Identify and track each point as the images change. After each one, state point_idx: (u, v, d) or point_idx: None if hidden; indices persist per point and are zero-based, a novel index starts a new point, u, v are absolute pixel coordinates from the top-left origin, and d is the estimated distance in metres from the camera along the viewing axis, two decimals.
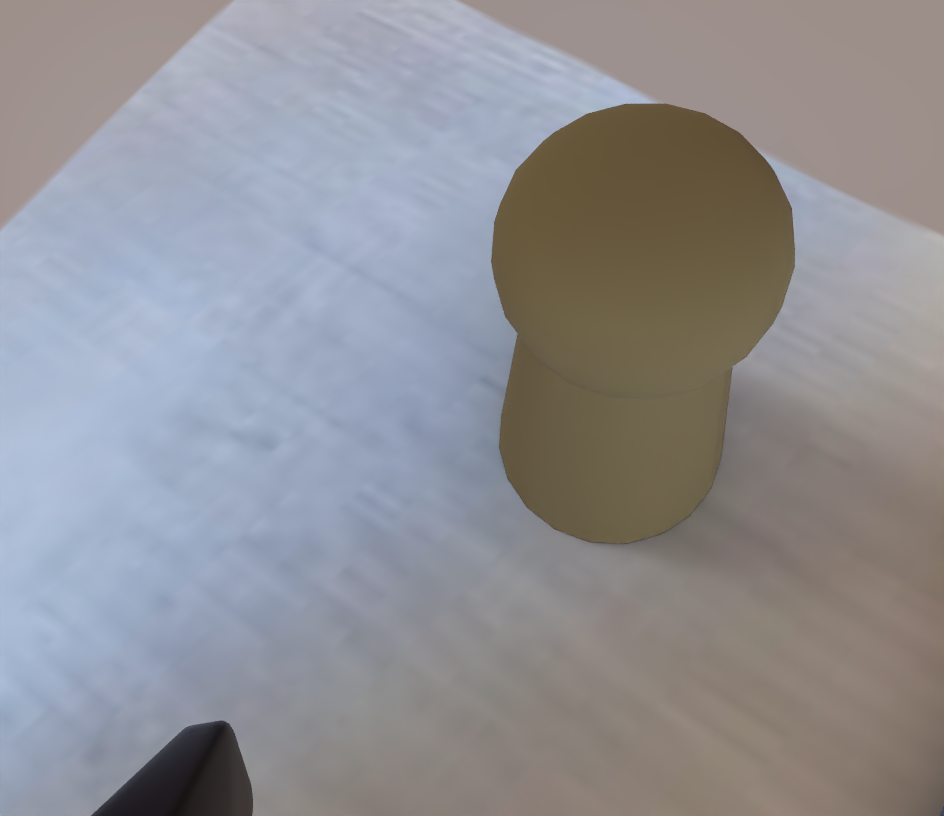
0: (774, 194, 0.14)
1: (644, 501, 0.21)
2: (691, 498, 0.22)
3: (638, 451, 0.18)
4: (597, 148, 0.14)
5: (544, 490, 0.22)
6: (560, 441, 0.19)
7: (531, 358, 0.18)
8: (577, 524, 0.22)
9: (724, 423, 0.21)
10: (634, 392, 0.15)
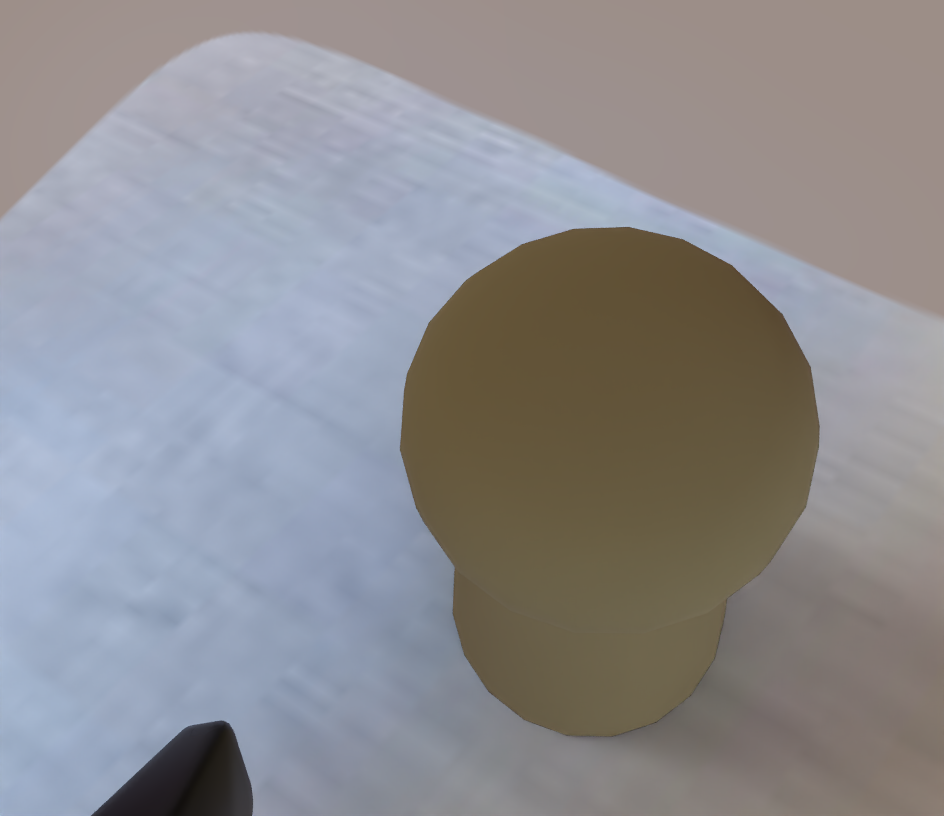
0: (787, 355, 0.10)
1: (632, 700, 0.16)
2: (691, 682, 0.17)
3: (619, 662, 0.14)
4: (534, 298, 0.10)
5: (506, 683, 0.17)
6: (519, 645, 0.15)
7: None
8: (551, 719, 0.18)
9: None
10: (605, 632, 0.11)
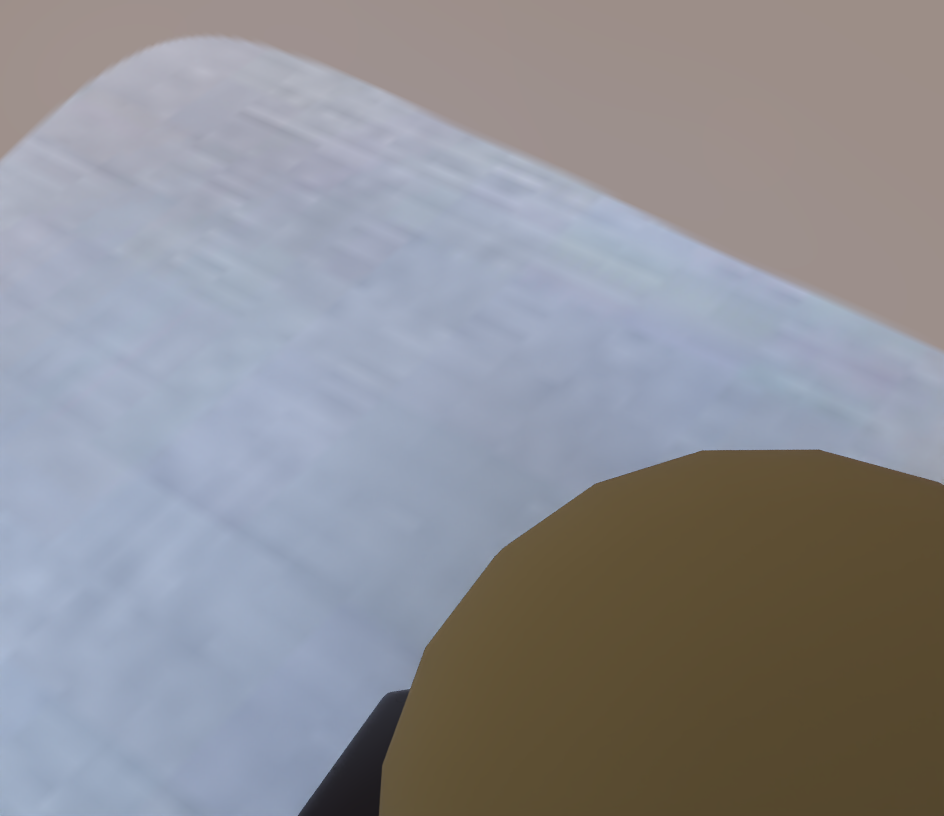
0: None
1: None
2: None
3: None
4: (664, 659, 0.05)
5: None
6: None
7: None
8: None
9: None
10: None
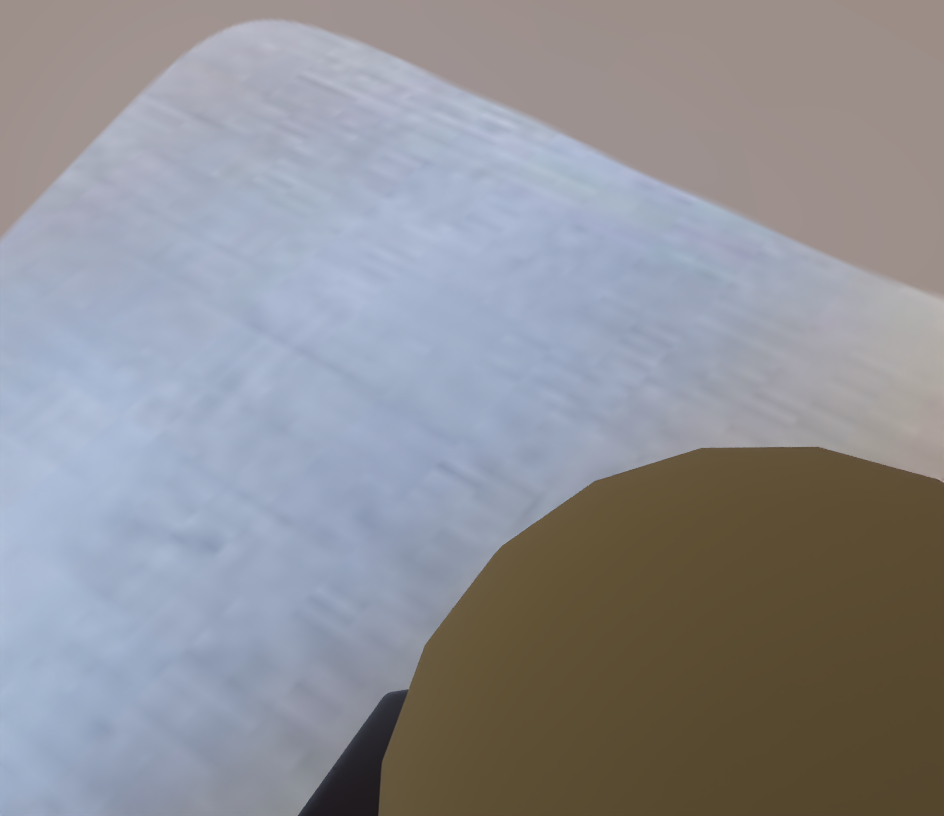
0: None
1: None
2: None
3: None
4: (663, 657, 0.05)
5: None
6: None
7: None
8: None
9: None
10: None
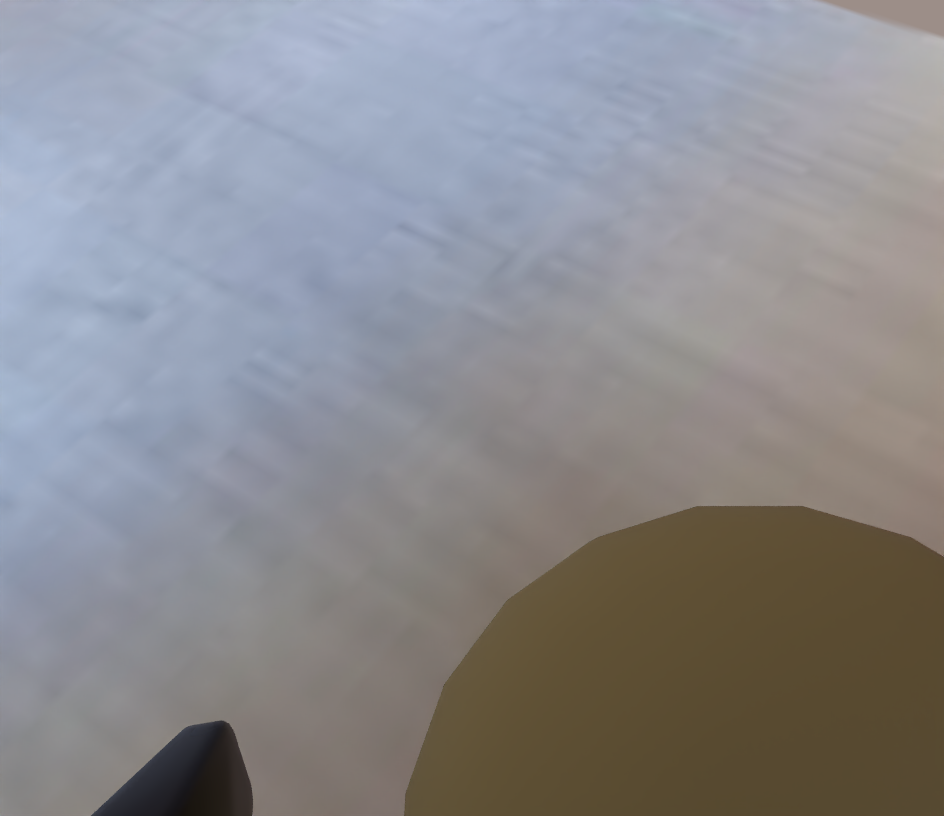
0: None
1: None
2: None
3: None
4: (661, 706, 0.05)
5: None
6: None
7: None
8: None
9: None
10: None
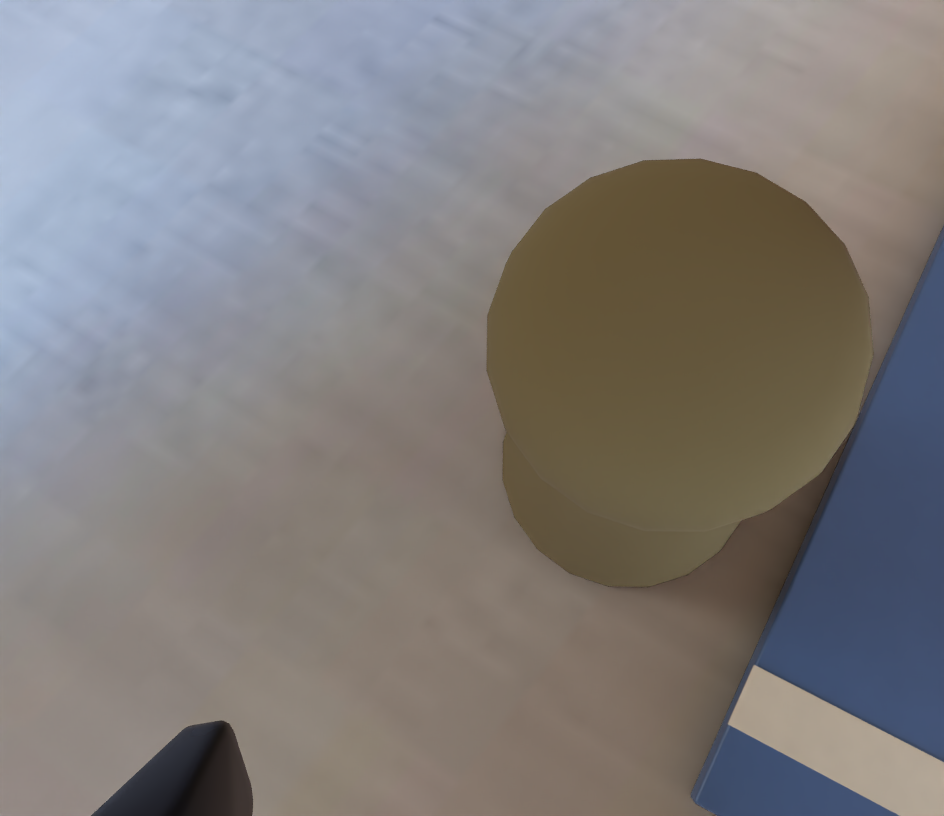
0: (849, 291, 0.11)
1: (672, 561, 0.18)
2: (722, 542, 0.19)
3: (668, 537, 0.16)
4: (617, 238, 0.11)
5: (557, 546, 0.19)
6: (576, 522, 0.16)
7: None
8: (595, 574, 0.20)
9: None
10: (671, 530, 0.12)
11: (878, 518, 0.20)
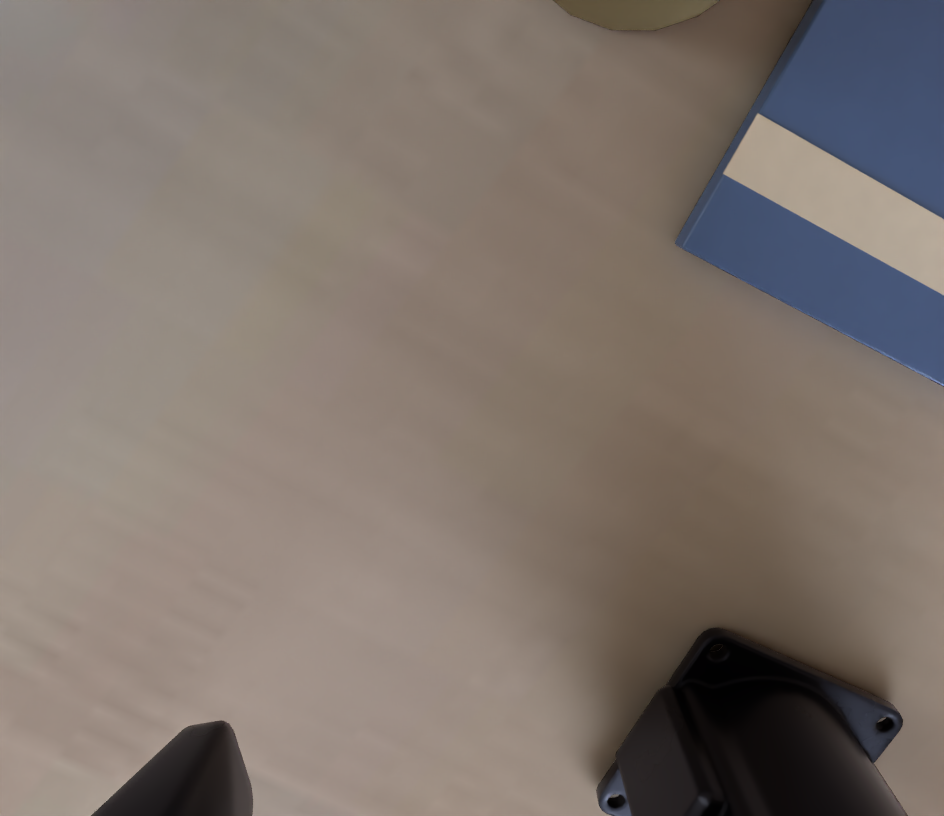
0: None
1: None
2: None
3: None
4: None
5: None
6: None
7: None
8: (604, 15, 0.18)
9: None
10: None
11: None
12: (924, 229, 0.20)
